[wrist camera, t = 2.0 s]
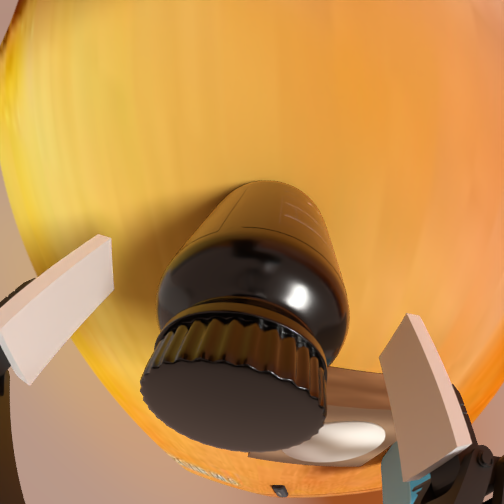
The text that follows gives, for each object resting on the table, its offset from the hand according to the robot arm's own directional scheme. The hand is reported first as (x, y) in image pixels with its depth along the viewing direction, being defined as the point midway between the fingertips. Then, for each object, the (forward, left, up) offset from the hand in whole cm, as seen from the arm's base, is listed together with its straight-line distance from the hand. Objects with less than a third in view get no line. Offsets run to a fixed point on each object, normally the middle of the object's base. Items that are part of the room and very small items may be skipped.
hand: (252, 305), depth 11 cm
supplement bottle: (0, 0, -7) cm, 7 cm away
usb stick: (+55, +17, -7) cm, 58 cm away
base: (+17, +11, -6) cm, 21 cm away
